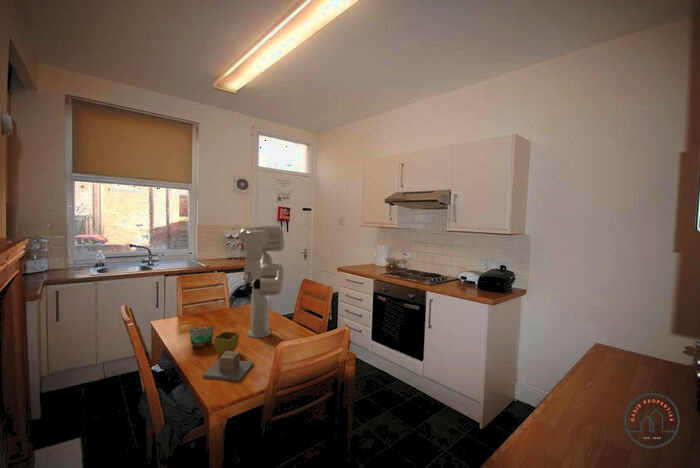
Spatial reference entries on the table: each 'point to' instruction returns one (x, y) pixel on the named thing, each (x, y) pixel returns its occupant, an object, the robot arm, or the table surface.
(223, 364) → the walnut cube
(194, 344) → the food container
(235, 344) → the flower pot
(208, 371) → the slate board
